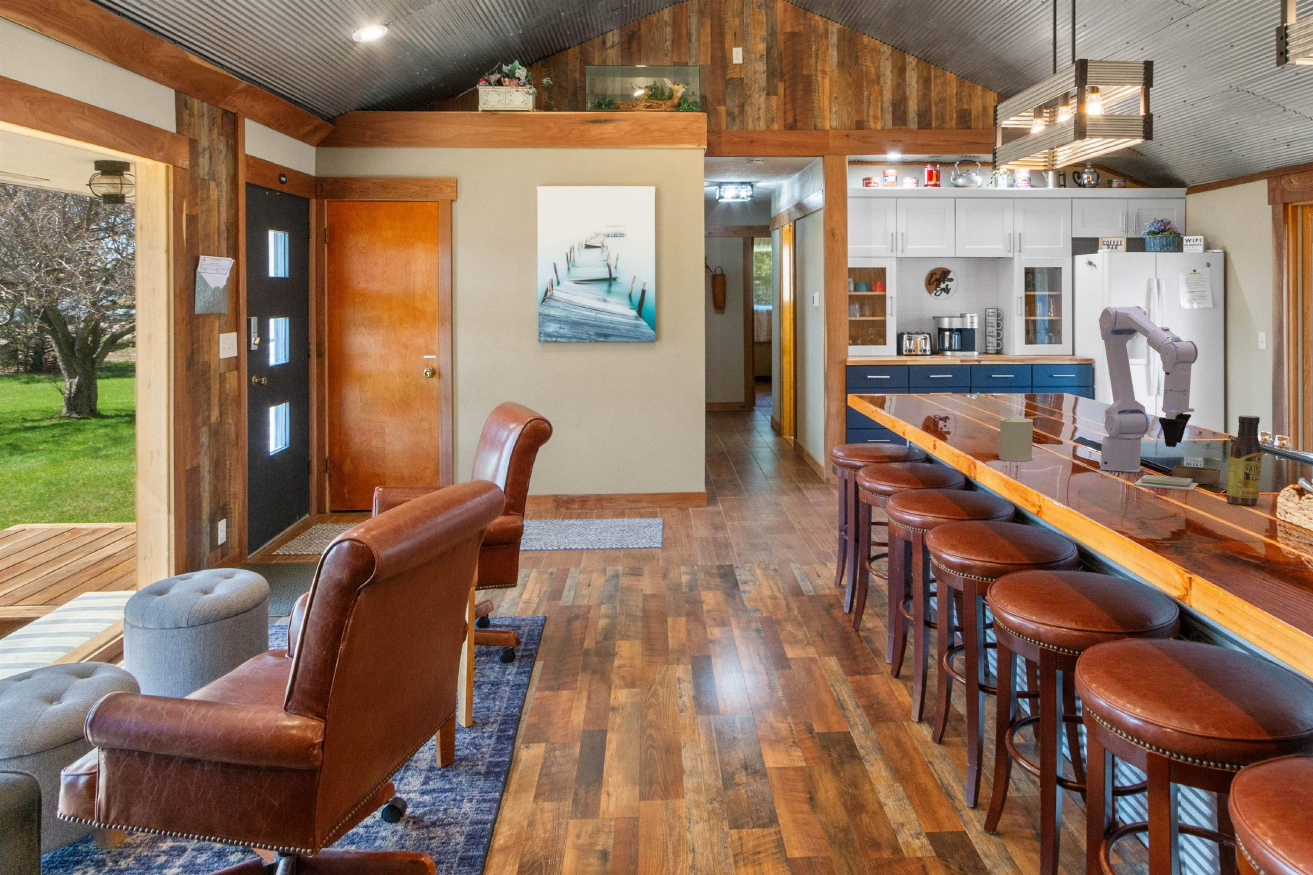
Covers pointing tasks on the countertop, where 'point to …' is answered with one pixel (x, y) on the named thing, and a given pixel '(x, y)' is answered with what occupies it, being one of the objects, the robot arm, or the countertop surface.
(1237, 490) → the sauce bottle
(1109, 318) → the robot arm
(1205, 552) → the countertop surface
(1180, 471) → the walnut box
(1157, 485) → the felt mat
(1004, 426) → the can
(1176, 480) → the lid
